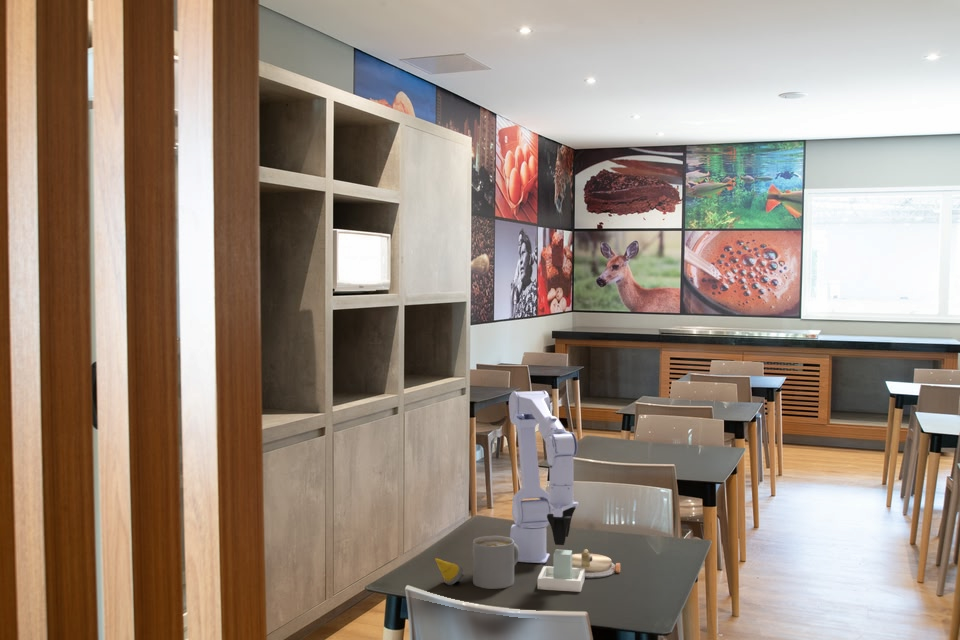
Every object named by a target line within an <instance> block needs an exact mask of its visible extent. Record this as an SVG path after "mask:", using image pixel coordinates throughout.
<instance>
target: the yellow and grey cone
mask: <svg viewBox="0 0 960 640" xmlns="http://www.w3.org/2000/svg"><path fill="white" fill-rule="evenodd" d="M434 560H435V562H436V564H437V565H436V566H437V567H438V568H439V571H440V574H441V575H442V581H443V582H444V583H445V584H446V585H448V586H452V585H454V584H455V583H457V582H462V579H463V578H464V577H465V574H464V573H463V571H464V570H463V567H462V565H460V564H459V563H456V562H455V563H453V562H449V561H446V560H443V559H440V558H434Z"/></svg>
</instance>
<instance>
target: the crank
mask: <svg viewBox="0 0 960 640" xmlns="http://www.w3.org/2000/svg"><path fill="white" fill-rule="evenodd" d="M612 563H613V562H612V559H611V558H610V557H608V556H606V555H602V554H599V553H597V554H596V553H590V552H589V550H588V549H587V548H585V549H583V551H582V552H581V553H572V568H585V572H598V571H604V570H607V569H609V568H611V566H612Z"/></svg>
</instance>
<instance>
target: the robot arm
mask: <svg viewBox="0 0 960 640" xmlns="http://www.w3.org/2000/svg"><path fill="white" fill-rule="evenodd" d="M550 406H551V399H550V395H549V393H548V392H547V391H546V390H535V391H533V390H531V391H530V390H529V391H528V390H527V391H515V390H514V391H512V392H511V393H510V394H509V399H508V410H509V411H508V413H509V420H510V423H511V424H513V425H515V427H516V432H517V442H518V456H519V465H520V467H519V469H520V479H521V488H520V489H518V491H517V492H515V493H514V494H513V497H512V506H511V514H512V520H513V522H514V523H515V524H512V525H511V527H510V533H509V538H511V539H513V540H514V544H516V545H517V546H518V549H519V558H518V562H517V563H532V564H533V563H534V564H547V562H548V560H549V558H550V555H551V554H550V553H547V527H548V526H549V525H550V527H551V528H550V529H551V532H552V536H553V542H554V544H555V546H565V543H566V537H567V538H568V537H569V535H570V534H569V533H570V530H571V529H570V528H571V523H572V518H573V515H574V513H575V511H576V507H579V504H580V503H579V501H575V499H574V497H575V496H574V493H575V491H574V482H575V481H574V458H575V457H577V454H578V439H577V437H576V435H575V433H574V432H573V431H572V432H571V431H567V430H566V428H565V427H564V425H563V424H562V421H560V419H559V418H558V417H556V416H554V415H552V413H551V411H550ZM537 425H538V426H537ZM536 427H537V428H538V432H539V434H540V435H541V438H542V439H543V440H544V442H545V451H546V456H547V458H546V459H547V464H548V466H549V492H548V491H546V490H545V489H544V488H543V487H541V482H540V469H539V459H538V447H537V445H538V444H537V436H536V435H537V434H536ZM526 499H527V500H526ZM529 499H530V500H529Z"/></svg>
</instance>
